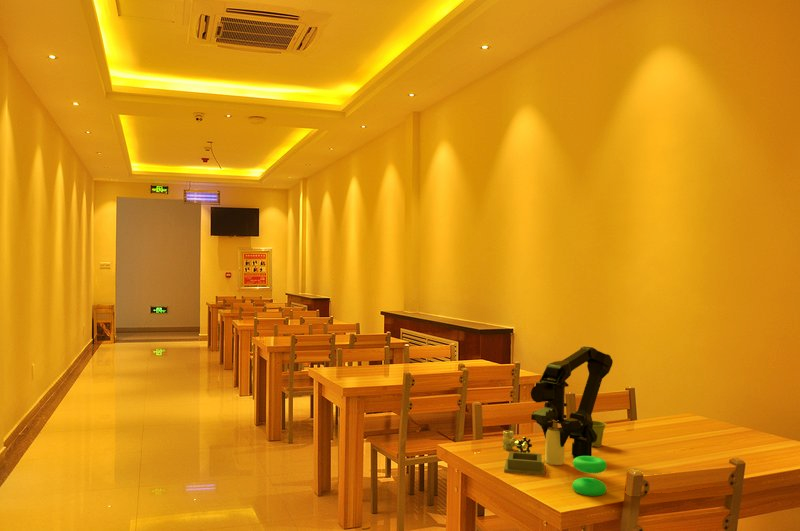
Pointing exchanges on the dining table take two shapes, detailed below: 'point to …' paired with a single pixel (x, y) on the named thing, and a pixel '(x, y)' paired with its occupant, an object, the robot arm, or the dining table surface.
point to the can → (554, 447)
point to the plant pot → (598, 432)
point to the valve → (515, 442)
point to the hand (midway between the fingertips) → (554, 444)
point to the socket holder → (524, 463)
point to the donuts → (589, 484)
